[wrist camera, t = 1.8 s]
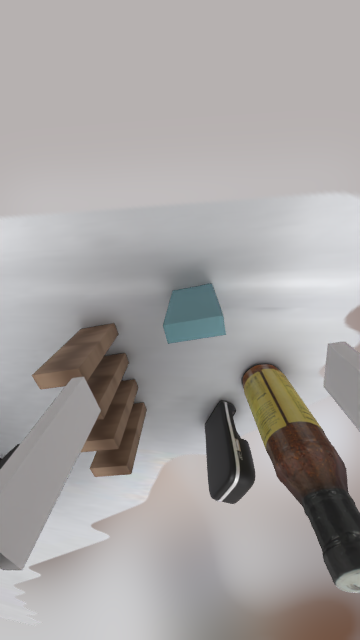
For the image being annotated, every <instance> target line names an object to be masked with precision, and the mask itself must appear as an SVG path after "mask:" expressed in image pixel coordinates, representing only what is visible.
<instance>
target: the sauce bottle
mask: <svg viewBox="0 0 360 640" xmlns="http://www.w3.org/2000/svg"><path fill="white" fill-rule="evenodd" d="M243 388H244V393H245V396H246V398H247V401H248V403H249V406H250V409H251V411H252V414H253V417H254V419H255V422H256V424H257V427H258V430H259V432H260V435H261V438H262V440H263V443H264V445H265V448H266V451H267V453H268V455H269V456H270V459H271V461H272V463H273V465H274V469H275V471H276V474H277V477H278V478H279V480H280V481H281V482H282V483H283V484H284V485H285V486H286V487H287V488H288V490H289V491H290V492H291V493H292V494H293V496H294V497H295V498H296V499H297V500H298V501H299V503H300V504H301V505H302V506H303V508H304V510H305V513H306V515H307V516H308V518H309V520H310V522H311V525H312V527H313V529H314V531H315V533H316V536H317V539H318V541H319V544H320V546H321V548H322V551H323V558H324V562H325V564H326V566H327V569H328V570H329V573H330V575H331V577H332V579H333V582H334V584H335V585H336V586H337V587H338V588H339V589H341V590H342V591H346V592H352V593H360V513H359V511H358V509H357V508H356V506H355V502H354V501H353V499H352V498H351V496H350V495H349V493H348V487H347V474H346V468H345V465H344V462H343V461H342V459H341V458H340V456H339V455H338V453H337V451H336V450H335V448H334V447H333V446H332V445H331V443H330V442H329V440H328V438H327V437H326V436H325V433H324V431H323V429H322V428H321V427H320V426H319V424H318V423H317V421H316V420H315V418H314V417H313V415H312V414H311V412H310V411H309V410H308V408H307V407H306V405H305V404H304V402H303V401H302V399H301V398H300V397H299V395H298V394H297V392H296V391H295V389H294V388H293V386H292V385H291V383H290V382H289V381H288V379H287V378H286V376H285V375H284V374H283V373H282V372H281V371H280V370H279V369H277V368H276V367H275V366H273V365H271V364H270V365H269V364H262V365H256V366H254V367H252V368H250V369H249V370H248V371H247V372H246V373H245V375H244V376H243Z"/></svg>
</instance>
